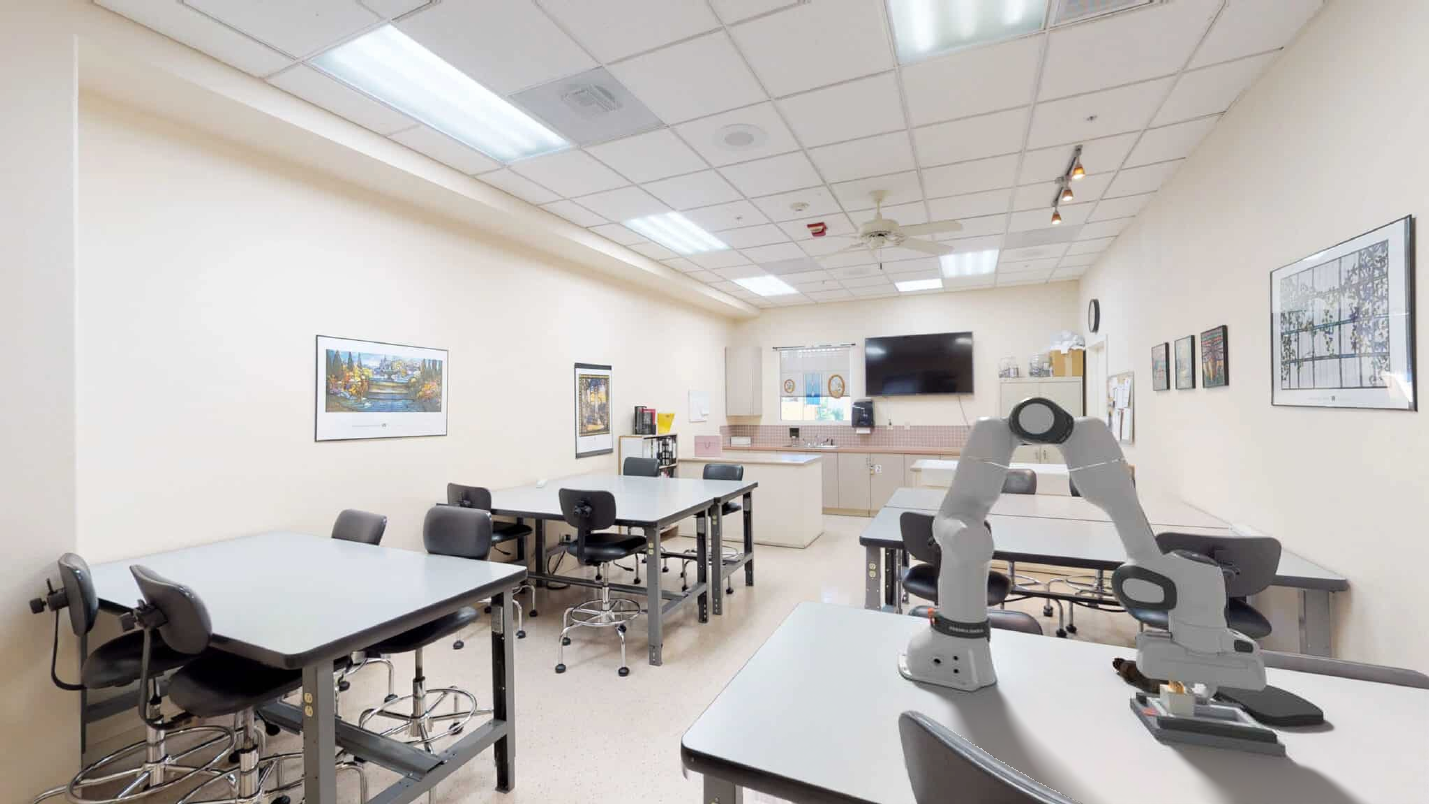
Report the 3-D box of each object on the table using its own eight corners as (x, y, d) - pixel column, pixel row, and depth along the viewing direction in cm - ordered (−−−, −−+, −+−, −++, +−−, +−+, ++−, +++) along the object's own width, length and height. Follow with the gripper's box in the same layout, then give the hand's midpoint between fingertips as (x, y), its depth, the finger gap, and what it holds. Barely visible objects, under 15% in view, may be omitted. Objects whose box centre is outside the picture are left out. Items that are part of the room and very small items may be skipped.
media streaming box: (1335, 726, 111) (1335, 711, 111) (1268, 730, 110) (1267, 714, 110) (1259, 690, 126) (1259, 676, 126) (1199, 693, 125) (1199, 679, 125)
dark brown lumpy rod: (1121, 678, 135) (1173, 709, 120) (1103, 668, 135) (1152, 698, 120) (1132, 657, 136) (1184, 685, 121) (1113, 647, 136) (1164, 674, 121)
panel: (1155, 738, 107) (1154, 719, 107) (1130, 707, 119) (1129, 690, 119) (1285, 756, 101) (1284, 736, 101) (1245, 721, 113) (1245, 703, 113)
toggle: (1169, 718, 110) (1168, 685, 110) (1160, 708, 114) (1159, 676, 114) (1194, 722, 109) (1193, 688, 109) (1184, 711, 113) (1182, 678, 113)
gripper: (1142, 634, 111) (1144, 704, 110) (1270, 646, 104) (1273, 720, 104) (1129, 623, 117) (1131, 689, 116) (1250, 634, 110) (1252, 703, 110)
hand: (1199, 704), depth 110 cm, fingers closed
